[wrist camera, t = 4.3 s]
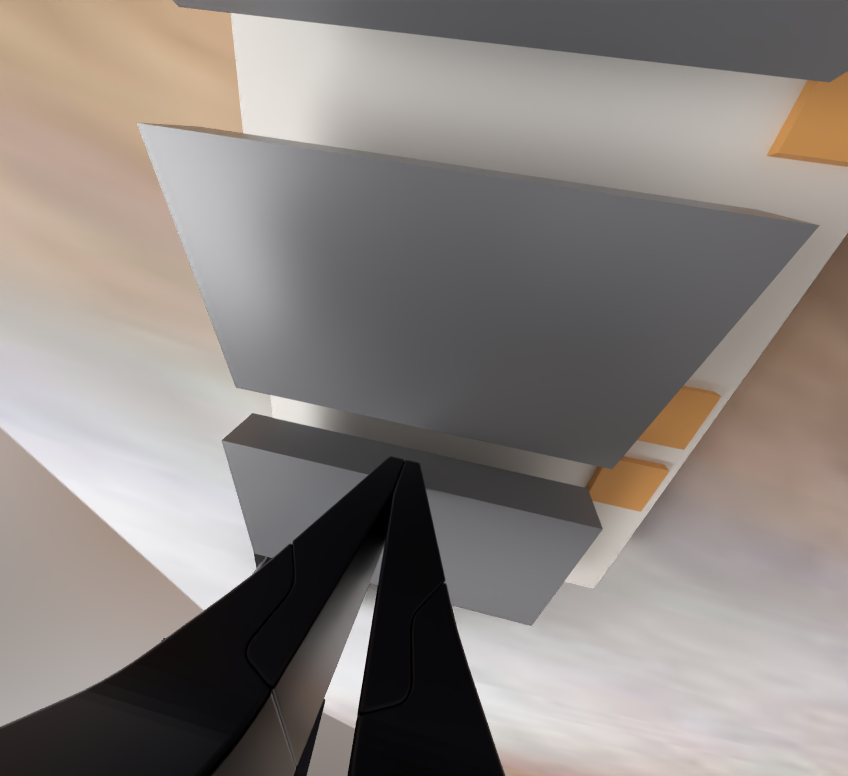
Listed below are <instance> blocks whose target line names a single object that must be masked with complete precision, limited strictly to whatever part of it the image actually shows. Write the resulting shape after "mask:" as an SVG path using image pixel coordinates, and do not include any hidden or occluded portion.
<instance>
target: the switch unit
mask: <svg viewBox="0 0 848 776" xmlns="http://www.w3.org/2000/svg"><path fill="white" fill-rule="evenodd" d="M231 20H232V30H233V39H234V49H235V58H236V68H237V78H238V87H239V97H240V107H241V116H242V126H243V133H244V134H251V135H258V136H265V137H271V138H278V139H285V140H292V141H298V142H305V143H312V144H319V145H325V146H332V147H339V148H346V149H352V150H359V151H366V152H372V153H379V154H386V155H393V156H399V157H406V158H413V159H420V160H426V161H433V162H440V163H447V164H453V165H460V166H467V167H473V168H480V169H487V170H494V171H500V172H507V173H514V174H521V175H527V176H534V177H541V178H548V179H554V180H561V181H568V182H574V183H581V184H588V185H595V186H601V187H608V188H615V189H622V190H628V191H635V192H642V193H649V194H655V195H662V196H669V197H676V198H682V199H689V200H696V201H702V202H709V203H716V204H723V205H729V206H736V207H743V208H750V209H756V210H761V211H765V212H769V213H773V214H777V215H781V216H785V217H789V218H793V219H797V220H801V221H805V222H809V223H813V224H817V225H820V226H819V227H818V228H817V229H816V230H815V232H814V233H813V234H812V235H811V236H810V238H809V239H808V240H807V241H806V242H805V243H804V245H803V246H802V247H801V248H800V249H799V250H798V252H797V253H796V254H795V255H794V256H793V258H792V259H791V260H790V261H789V262H788V263H787V265H786V266H785V267H784V268H783V269H782V270H781V272H780V273H779V274H778V275H777V276H776V278H775V279H774V280H773V281H772V282H771V283H770V285H769V286H768V287H767V288H766V289H765V290H764V292H763V293H762V294H761V295H760V296H759V298H758V299H757V300H756V301H755V302H754V303H753V305H752V306H751V307H750V308H749V309H748V310H747V312H746V313H745V314H744V315H743V316H742V317H741V319H740V320H739V321H738V322H737V323H736V325H735V326H734V327H733V328H732V329H731V330H730V332H729V333H728V334H727V335H726V336H725V337H724V339H723V340H722V341H721V342H720V343H719V345H718V346H717V347H716V348H715V349H714V350H713V352H712V353H711V354H710V355H709V356H708V357H707V359H706V360H705V361H704V362H703V363H702V365H701V366H700V367H699V368H698V369H697V370H696V372H695V373H694V374H693V375H692V376H691V377H690V379H689V380H688V381H687V382H686V383H685V384H684V386H683V387H682V388H681V389H680V390H679V392H678V393H677V394H676V395H675V396H674V397H673V399H672V400H671V401H670V402H669V403H668V404H667V406H666V407H665V408H664V409H663V410H662V412H661V413H660V414H659V415H658V416H657V417H656V419H655V420H654V421H653V422H652V423H651V424H650V426H649V427H648V428H647V429H646V430H645V432H644V433H643V434H642V435H641V436H640V437H639V439H638V440H637V441H636V442H635V443H634V444H633V446H632V447H631V448H630V449H629V450H628V451H627V453H626V454H625V455H624V456H623V457H622V459H621V460H620V461H619V462H618V463H617V464H616V466H615V467H614V468H613V469H608V468H604V467H599V466H594V465H590V464H585V463H581V462H576V461H571V460H567V459H562V458H558V457H553V456H548V455H544V454H539V453H535V452H530V451H525V450H521V449H516V448H512V447H507V446H503V445H498V444H493V443H489V442H484V441H480V440H475V439H470V438H466V437H461V436H457V435H452V434H447V433H443V432H438V431H434V430H429V429H424V428H420V427H415V426H411V425H406V424H402V423H397V422H392V421H388V420H383V419H379V418H374V417H369V416H365V415H360V414H356V413H351V412H346V411H342V410H337V409H333V408H328V407H323V406H319V405H314V404H310V403H305V402H301V401H296V400H291V399H287V398H282V397H278V396H273V395H271V404H272V414H273V418H276V419H280V420H285V421H289V422H294V423H298V424H303V425H307V426H312V427H316V428H321V429H325V430H330V431H334V432H339V433H343V434H348V435H352V436H356V437H361V438H365V439H370V440H374V441H379V442H383V443H388V444H392V445H397V446H401V447H406V448H410V449H415V450H419V451H423V452H428V453H432V454H437V455H441V456H446V457H450V458H455V459H459V460H464V461H468V462H473V463H477V464H482V465H486V466H490V467H495V468H499V469H504V470H508V471H513V472H517V473H522V474H526V475H531V476H535V477H540V478H544V479H549V480H553V481H557V482H562V483H566V484H571V485H575V486H580V487H584V488H588V490H589V493H590V496H591V498H592V501H593V504H594V506H595V509H596V512H597V515H598V517H599V520H600V523H601V526H602V528H603V530H602V531H601V532H600V534H599V535H598V537H597V538H596V539H595V541H594V542H593V543H592V545H591V546H590V547H589V549H588V550H587V551H586V553H585V554H584V555H583V557H582V558H581V559H580V561H579V562H578V564H577V565H576V566H575V568H574V569H573V570H572V572H571V573H570V574H569V576H568V577H567V578H566V580H565V581H564V582H567V583H571V584H575V585H579V586H583V587H587V588H591V589H594V588H595V586H596V585H597V584H598V582H599V581H600V579H601V578H602V577H603V575H604V574H605V572H606V571H607V570H608V568H609V567H610V565H611V564H612V563H613V561H614V560H615V558H616V557H617V556H618V554H619V553H620V551H621V550H622V549H623V547H624V546H625V544H626V543H627V542H628V540H629V539H630V537H631V536H632V535H633V533H634V532H635V530H636V529H637V528H638V526H639V525H640V523H641V522H642V521H643V519H644V518H645V516H646V515H647V514H648V512H649V511H650V509H651V508H652V507H653V505H654V504H655V502H656V501H657V500H658V498H659V497H660V495H661V494H662V493H663V491H664V490H665V488H666V487H667V486H668V484H669V483H670V481H671V480H672V479H673V477H674V476H675V474H676V473H677V472H678V470H679V469H680V467H681V466H682V465H683V463H684V462H685V460H686V459H687V458H688V456H689V455H690V453H691V452H692V451H693V449H694V448H695V446H696V445H697V444H698V442H699V441H700V439H701V438H702V437H703V435H704V434H705V432H706V431H707V429H708V428H709V427H710V425H711V424H712V422H713V421H714V420H715V418H716V417H717V415H718V414H719V413H720V411H721V410H722V408H723V407H724V406H725V404H726V403H727V401H728V400H729V399H730V397H731V396H732V394H733V393H734V392H735V390H736V389H737V387H738V386H739V385H740V383H741V382H742V380H743V379H744V378H745V376H746V375H747V373H748V372H749V371H750V369H751V368H752V366H753V365H754V364H755V362H756V361H757V359H758V358H759V357H760V355H761V354H762V352H763V351H764V350H765V348H766V347H767V345H768V344H769V343H770V341H771V340H772V338H773V337H774V336H775V334H776V333H777V331H778V330H779V329H780V327H781V326H782V324H783V323H784V322H785V320H786V319H787V317H788V316H789V315H790V313H791V312H792V310H793V309H794V308H795V306H796V305H797V303H798V302H799V301H800V299H801V298H802V296H803V295H804V294H805V292H806V291H807V289H808V288H809V287H810V285H811V284H812V282H813V281H814V280H815V278H816V277H817V275H818V274H819V273H820V271H821V270H822V268H823V267H824V266H825V264H826V263H827V261H828V260H829V259H830V257H831V256H832V254H833V253H834V252H835V250H836V249H837V247H838V246H839V244H840V243H841V242H842V240H843V239H844V237H845V236H846V235H847V233H848V71H847V72H846V73H844V74H842V75H841V76H839V77H838V78H836V79H834V80H833V81H831V82H830V83H829V82H821V81H812V80H804V79H795V78H786V77H778V76H769V75H761V74H752V73H743V72H735V71H726V70H718V69H709V68H700V67H692V66H683V65H675V64H666V63H657V62H649V61H640V60H632V59H623V58H614V57H606V56H597V55H588V54H580V53H571V52H563V51H554V50H545V49H537V48H528V47H520V46H511V45H502V44H494V43H485V42H477V41H468V40H459V39H451V38H442V37H434V36H425V35H416V34H408V33H399V32H391V31H382V30H373V29H365V28H356V27H348V26H339V25H330V24H322V23H313V22H305V21H296V20H287V19H279V18H270V17H262V16H253V15H244V14H236V13H231Z"/></svg>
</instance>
